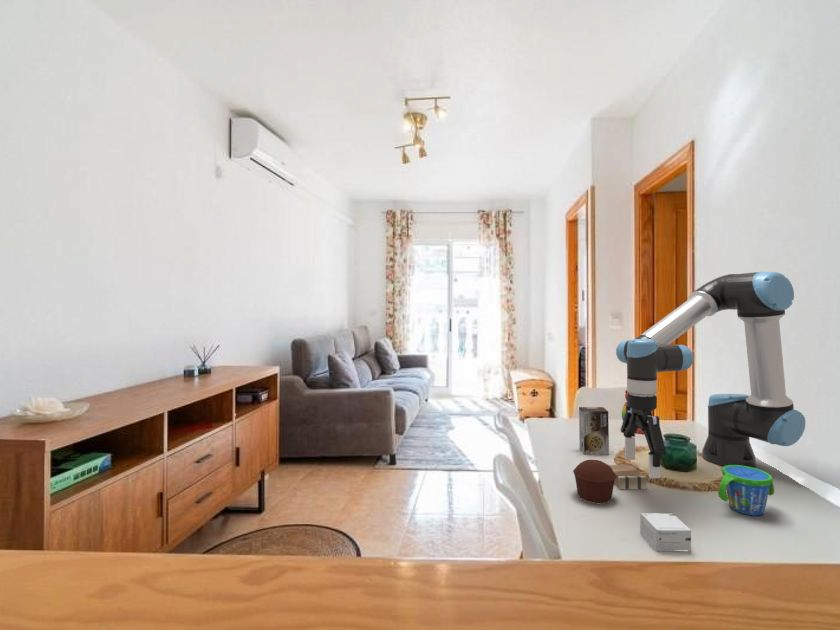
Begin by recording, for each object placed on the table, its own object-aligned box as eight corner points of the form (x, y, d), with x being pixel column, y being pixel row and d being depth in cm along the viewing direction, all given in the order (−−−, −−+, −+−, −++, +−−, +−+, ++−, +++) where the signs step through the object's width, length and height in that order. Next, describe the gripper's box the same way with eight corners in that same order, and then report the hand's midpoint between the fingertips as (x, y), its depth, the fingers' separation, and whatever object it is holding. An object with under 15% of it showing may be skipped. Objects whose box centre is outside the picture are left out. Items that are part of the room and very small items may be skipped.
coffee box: (603, 449, 162) (603, 406, 161) (609, 455, 155) (609, 411, 155) (578, 448, 163) (578, 406, 162) (583, 454, 156) (583, 410, 156)
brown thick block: (646, 477, 127) (630, 464, 137) (619, 477, 127) (605, 465, 137) (646, 489, 127) (630, 475, 137) (619, 489, 127) (605, 475, 137)
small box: (656, 552, 95) (656, 529, 95) (639, 533, 103) (639, 512, 103) (691, 552, 95) (692, 529, 95) (672, 533, 103) (672, 512, 103)
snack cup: (735, 521, 108) (735, 481, 107) (703, 502, 118) (704, 466, 118) (792, 518, 109) (792, 478, 109) (755, 499, 120) (756, 463, 119)
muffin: (596, 509, 115) (596, 472, 114) (564, 493, 125) (564, 459, 124) (625, 499, 120) (625, 464, 120) (592, 485, 130) (592, 452, 130)
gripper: (681, 403, 109) (681, 486, 109) (633, 385, 134) (633, 452, 134) (652, 404, 109) (651, 486, 109) (609, 385, 134) (609, 452, 134)
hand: (641, 468), depth 122 cm, fingers open, 13 cm apart
